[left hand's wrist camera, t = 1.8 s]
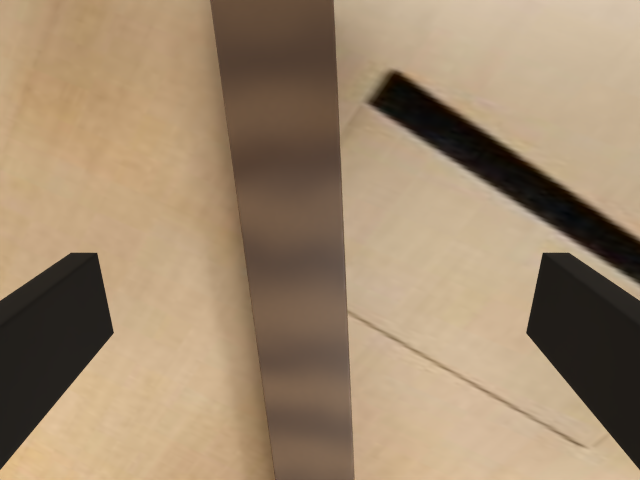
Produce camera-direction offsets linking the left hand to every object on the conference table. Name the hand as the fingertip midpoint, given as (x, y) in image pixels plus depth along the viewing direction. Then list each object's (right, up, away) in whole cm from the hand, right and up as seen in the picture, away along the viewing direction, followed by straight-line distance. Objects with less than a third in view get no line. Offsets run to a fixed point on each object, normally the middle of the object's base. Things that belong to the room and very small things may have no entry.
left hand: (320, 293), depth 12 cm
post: (0, -23, +25) cm, 34 cm away
